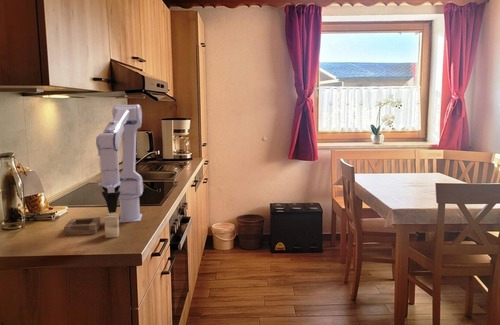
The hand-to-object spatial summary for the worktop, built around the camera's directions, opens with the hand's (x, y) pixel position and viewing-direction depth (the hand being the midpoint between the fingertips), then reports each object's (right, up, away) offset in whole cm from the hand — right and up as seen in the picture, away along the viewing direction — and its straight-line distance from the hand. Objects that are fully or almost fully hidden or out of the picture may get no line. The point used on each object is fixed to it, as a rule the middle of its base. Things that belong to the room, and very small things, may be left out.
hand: (112, 209), depth 137 cm
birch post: (-1, -9, +2) cm, 9 cm away
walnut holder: (-13, -8, +8) cm, 18 cm away
